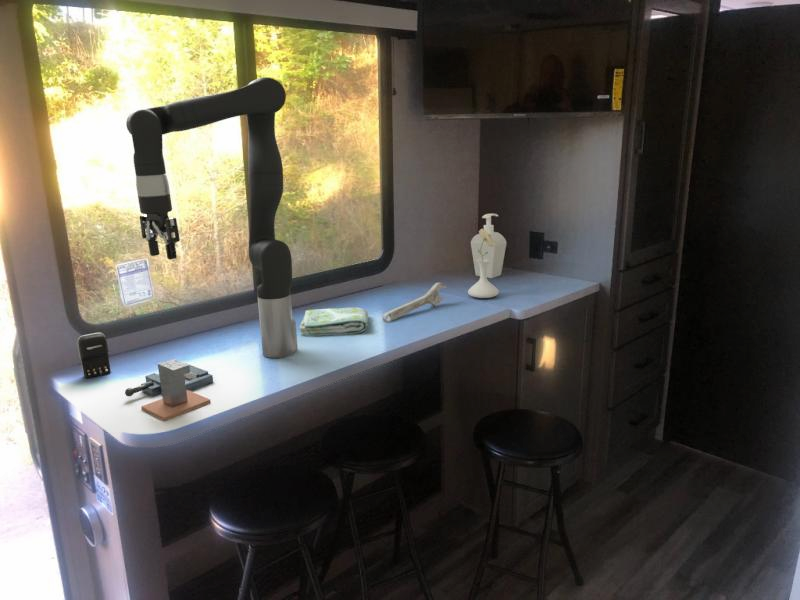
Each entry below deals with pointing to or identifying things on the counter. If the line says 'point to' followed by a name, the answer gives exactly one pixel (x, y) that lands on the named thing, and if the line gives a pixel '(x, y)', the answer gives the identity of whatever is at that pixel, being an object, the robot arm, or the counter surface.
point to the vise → (197, 381)
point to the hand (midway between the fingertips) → (163, 257)
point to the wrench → (417, 303)
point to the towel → (334, 321)
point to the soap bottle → (489, 250)
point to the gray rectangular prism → (173, 382)
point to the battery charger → (94, 354)
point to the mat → (168, 412)
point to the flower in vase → (484, 273)
